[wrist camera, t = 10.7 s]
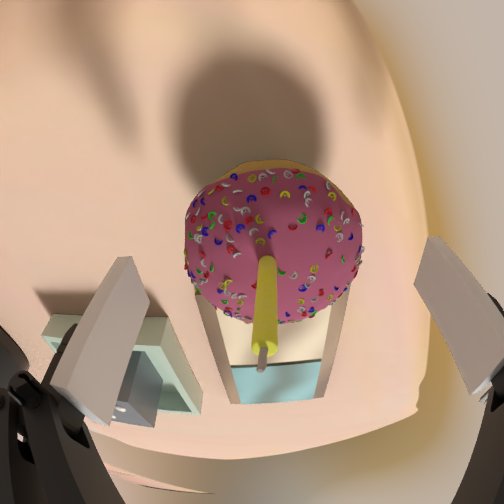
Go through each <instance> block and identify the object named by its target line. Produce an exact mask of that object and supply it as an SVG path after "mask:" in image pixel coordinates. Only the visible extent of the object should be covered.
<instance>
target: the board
mask: <svg viewBox="0 0 504 504" xmlns="http://www.w3.org/2000/svg"><path fill="white" fill-rule="evenodd" d="M350 284H351V283H350ZM350 284H349V285H348V287H347V288H348V289H347V290H346V291H344V292H343V294H342V295H341V296H340V297H339V298H337V299H336V302H335V303H334V305H331V306H329V305H328V306H327V307H326V308H325V309H322V310H320V311H319V312H317V313H316V314H315V316H314V317H313V318H309V317H307V318H305V319H303V320H302V321H300V322H294V323H286V324H278V349H277V352H276V353H275V354H274V355H272V356H269V357H267V366H266V370H265V371H264V372H263V373H258V372H257V371H256V369H257V365H258V356H257V355H255V354H254V353H253V352H252V349H251V341H252V331H253V323H250V324H246V323H244V321H241V320H238V319H236V318H234V317H232V318H231V317H230V316H226V315H225V314H226V313H225V314H224V313H223V311H222V310H220V309H219V308H217V310H216V309H215V307H214V306H213V305H212V303H210V302H208V301H207V299H206V298H205V297H204V296H203V295H202V294H201V293H199V292H198V290H196V292H195V298H196V301H197V304H198V308H199V311H200V314H201V318H202V321H203V324H204V327H205V331H206V334H207V337H208V340H209V343H210V346H211V349H212V352H213V355H214V358H215V361H216V364H217V367H218V370H219V373H220V376H221V379H222V381H223V384H224V387H225V390H226V392H227V395H228V398H229V401H230V403H231V404H261V403H277V402H289V401H299V400H308V399H313V398H320V397H324V394H325V390H326V387H327V383H328V380H329V376H330V373H331V369H332V365H333V362H334V358H335V354H336V350H337V346H338V342H339V338H340V333H341V329H342V324H343V320H344V315H345V310H346V305H347V300H348V295H349V290H350ZM227 315H228V314H227Z"/></svg>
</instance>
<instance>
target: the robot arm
mask: <svg viewBox="0 0 504 504" xmlns="http://www.w3.org/2000/svg"><path fill="white" fill-rule="evenodd" d="M414 286H415V287H416V289H417V291H418V292H419V294H420V296H421V297H422V299H423V301H424V303H425V304H426V306H427V308H428V310H429V311H430V313H431V315H432V317H433V319H434V320H435V322H436V324H437V326H438V328H439V330H440V332H441V334H442V335H443V338H444V339H445V341H446V343H447V345H448V347H449V349H450V352H451V354H452V356H453V358H454V360H455V362H456V364H457V366H458V369H459V371H460V373H461V375H462V378H463V380H464V382H465V385H466V387H467V390H468V392H469V394H470V395H472V394H474V393H476V392H479V391H481V390H482V389H484V388H485V387H486V385H487V384H488V383H489V382H490V381H491V382H492V385H493V386H492V387H491V388H490V389H489V390H488V391H487V392H486V393H485V394H484V395H483V396H482V397H481V398H480V401H479V402H482V401H483V400H484V399H485V398H486V397H487V396H488V398H487V400H486V401H485V402H484V404H486V408H485V412H484V416H483V420H482V424H481V428H480V431H479V435H478V438H477V441H476V444H475V447H474V450H473V453H472V456H471V459H470V462H469V465H468V467H467V470H466V472H465V475H464V477H463V480H462V482H461V484H460V487H459V489H458V491H457V493H456V495H455V497H454V499H453V501H452V503H451V504H504V311H503V309H502V307H501V306H500V304H499V303H498V302H497V300H496V299H495V298H494V297H492V296H491V295H490V294H489V293H486V291H485V290H484V289H483V287H482V286H481V285H480V283H479V282H478V281H477V280H476V279H475V277H474V276H473V274H472V273H471V272H470V271H469V270H468V268H467V267H466V266H465V265H464V263H463V262H462V261H461V260H460V259H459V258H458V256H457V255H456V254H455V253H454V252H453V250H452V249H451V248H450V247H449V246H448V245H447V244H446V243H445V242H444V241H443V239H442V238H441V237H440V236H439V237H428V238H427V241H426V245H425V249H424V252H423V256H422V259H421V263H420V266H419V269H418V272H417V276H416V279H415V282H414ZM149 304H150V301H149V298H148V296H147V294H146V291H145V289H144V286H143V284H142V281H141V279H140V276H139V274H138V271H137V268H136V266H135V263H134V260H133V258H132V256H127V257H117V259H116V261H115V262H114V264H113V265H112V267H111V268H110V270H109V272H108V273H107V275H106V276H105V278H104V280H103V281H102V283H101V285H100V286H99V288H98V290H97V291H96V293H95V295H94V296H93V298H92V300H91V302H90V303H89V305H88V307H87V309H86V310H85V312H84V314H83V316H82V318H81V320H80V321H79V323H78V324H77V323H74V324H73V325H72V326H71V327H70V329H69V330H68V331H67V332H66V333H65V335H64V337H63V339H62V341H61V345H59V347H58V349H57V353H55V355H54V357H53V359H52V361H51V363H50V365H49V367H48V369H47V372H46V374H45V376H44V378H43V380H42V382H41V384H40V383H39V382H38V381H37V380H36V379H35V378H34V377H33V376H32V375H31V374H30V373H29V372H28V369H29V363H28V360H27V358H26V357H25V355H24V354H23V352H22V351H21V350H20V348H19V347H18V346H17V345H16V344H15V342H14V341H13V340H12V339H11V338H10V337H9V336H8V335H7V334H6V333H5V332H4V331H3V330H2V329H1V328H0V504H125V502H124V500H123V499H122V497H121V495H120V494H119V492H118V490H117V488H116V487H115V485H114V483H113V481H112V479H111V478H110V476H109V474H108V472H107V470H106V468H105V466H104V464H103V462H102V460H101V458H100V456H99V453H98V451H97V449H96V447H95V445H94V442H93V440H92V437H91V435H90V433H89V430H88V427H87V426H86V424H85V422H84V421H83V420H84V417H85V416H86V417H87V418H88V419H90V420H91V421H92V422H94V423H98V424H101V425H105V426H110V422H111V419H112V415H113V412H114V408H115V405H116V401H117V398H118V394H119V391H120V388H121V384H122V381H123V378H124V375H125V372H126V369H127V366H128V363H129V360H130V357H131V354H132V351H133V348H134V345H135V342H136V339H137V337H138V334H139V331H140V328H141V326H142V323H143V320H144V317H145V315H146V312H147V310H148V307H149ZM17 433H19V434H20V435H22V436H23V442H21V441H20V440H18V439H17Z"/></svg>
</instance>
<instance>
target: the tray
mask: <svg viewBox="0 0 504 504" xmlns="http://www.w3.org/2000/svg"><path fill="white" fill-rule="evenodd" d="M82 316H83V315H67V314H53V315H52V317H51V319H50V320H49V322H48V324H47V326H46V327H45V329H44V331H43V333H42V334H41V336H42V337H43V339H44V340H45V341H46V342H47V344H48V345H49V346H50V348H51V349H52V350H53V351H54V353H57V349H58V347H59V345H61V341H62V339H63V337H64V335H65V333H66V332H67V331H68V330H69V329H70V327H71V326H72V325H73V324H74V323H77V324H78V323H79V321H80V320H81V318H82ZM133 351H145V352H146V354H147V356H148V357H149V359H150V360H151V362H152V364H153V365H154V367H155V368H156V370H157V371H158V373H159V374H160V376H161V377H162V379H163V384H162V389H161V394H160V399H159V404H158V409H157V412H165V413H176V414H191V415H201V407H202V397H203V392H202V390H201V388H200V386H199V384H198V382H197V380H196V378H195V376H194V374H193V372H192V369H191V367H190V365H189V363H188V361H187V359H186V357H185V354H184V352H183V350H182V348H181V346H180V343H179V341H178V339H177V337H176V334H175V332H174V330H173V327H172V325H171V322H170V320H169V318H168V317H144V320H143V323H142V326H141V328H140V331H139V334H138V337H137V339H136V342H135V345H134V348H133Z"/></svg>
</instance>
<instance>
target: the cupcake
mask: <svg viewBox="0 0 504 504" xmlns="http://www.w3.org/2000/svg"><path fill="white" fill-rule="evenodd" d="M362 226H363V225H362V224H361V219H360V215H359V213H358V211H357V210H356V209H355V208H354V206H353V205H352V203H351V202H350V201H349V199H348V198H347V197H346V196H345V195H344V194H343V192H342V191H341V190H340V189H339V188H338V187H337V186H336V185H335V184H333V183H332V182H331V181H330V180H329V179H327V178H326V177H325V176H323V175H322V174H320V173H319V172H317V171H316V170H314V169H312V168H310V167H308V166H305V165H303V164H300V163H297V162H293V161H289V160H283V159H273V160H261V161H249V162H245V163H243V164H241V165H239V166H237V167H235V168H234V169H232V170H231V171H229V172H228V173H226V174H225V175H223V176H222V177H220V178H219V179H217V180H216V181H214V182H213V183H211V184H210V185H208V186H206V187H205V188H203V189H202V190H201V191H200V192H199V193H198V194H197V195H196V197H195V198H194V199H193V201H192V202H191V204H190V206H189V208H188V210H187V213H186V217H185V249H184V255H185V267H184V269H185V270H186V269H187V270H188V276H189V277H191V283H192V284H194V285H195V291H196V290H198V292H199V293H201V294H202V295H203V296H204V297H205V298H206V299H207V301H208V302H210V303H212V305H213V306H214V307H215V309H216V310H217V308H219V309H220V310H222V311H223V313H224V314H225V313H226V314H225V315H226V316H230V317H231V318H232V317H234V318H236V319H238V320H241V321H244V323H246V324H250V323H253V331H252V341H251V349H252V352H253V353H254V354H255V355H257V356H258V365H257V369H256V371H257V372H258V373H263V372H264V371H265V370H266V366H267V357H269V356H272V355H274V354H275V353H276V352H277V349H278V324H286V323H294V322H300V321H302V320H303V319H305V318H307V317H309V318H313V317H314V316H315V314H316V313H317V312H319V311H320V310H322V309H325V308H326V307H327V306H328V305H329V306H331V305H334V303H335V302H336V299H337V298H339V297H340V296H341V295H342V294H343V292H344V291H346V290H347V289H348V288H347V287H348V285H349V284H350V283H351V282H352V281H353V279H354V278H355V277H356V275H357V272H358V269H359V266H360V265H361V263H362V260H361V261H360V259H361V253H363V252H364V247H363V246H362ZM363 227H364V226H363ZM362 248H363V250H362ZM227 314H228V315H227Z"/></svg>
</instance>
